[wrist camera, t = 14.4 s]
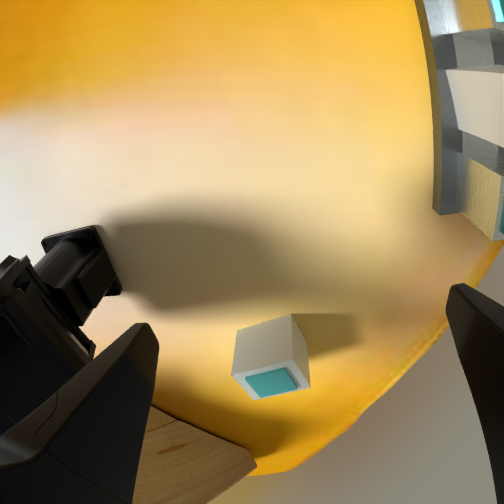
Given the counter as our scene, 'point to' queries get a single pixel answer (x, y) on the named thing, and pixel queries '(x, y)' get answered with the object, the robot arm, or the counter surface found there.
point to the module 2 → (479, 100)
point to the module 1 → (271, 358)
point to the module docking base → (444, 117)
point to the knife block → (186, 463)
